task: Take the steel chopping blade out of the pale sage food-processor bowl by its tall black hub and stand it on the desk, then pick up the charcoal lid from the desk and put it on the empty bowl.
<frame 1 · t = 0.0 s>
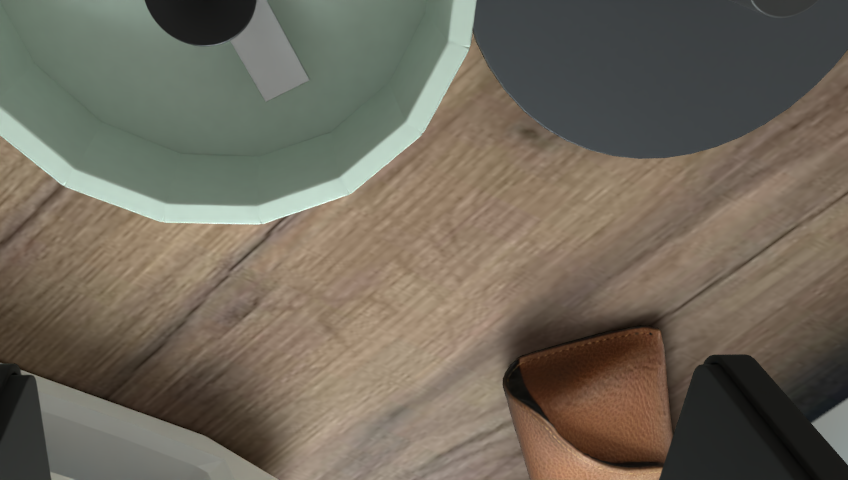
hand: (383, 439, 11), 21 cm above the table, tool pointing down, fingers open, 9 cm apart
sunglasses case: (601, 460, 43), on the table
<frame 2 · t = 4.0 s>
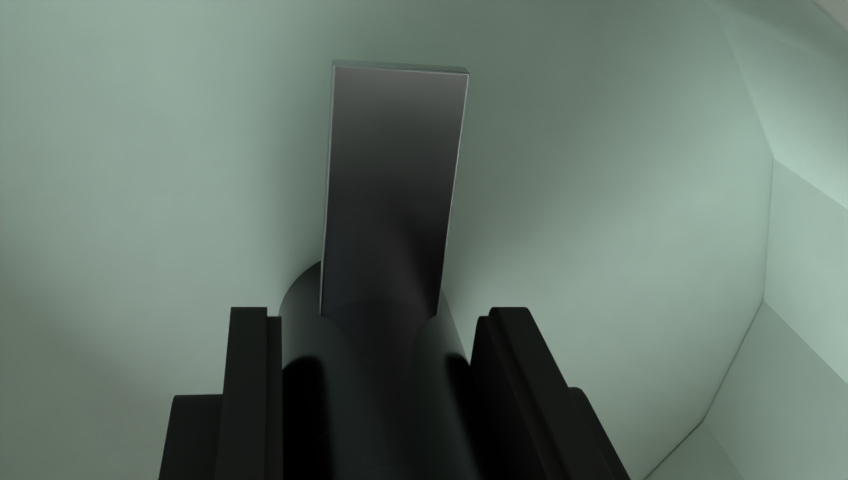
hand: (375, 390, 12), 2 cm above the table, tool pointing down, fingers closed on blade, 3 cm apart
bowl: (361, 306, 14), on the table
blade: (363, 321, 14), point 1 cm above the table, touching bowl, gripper
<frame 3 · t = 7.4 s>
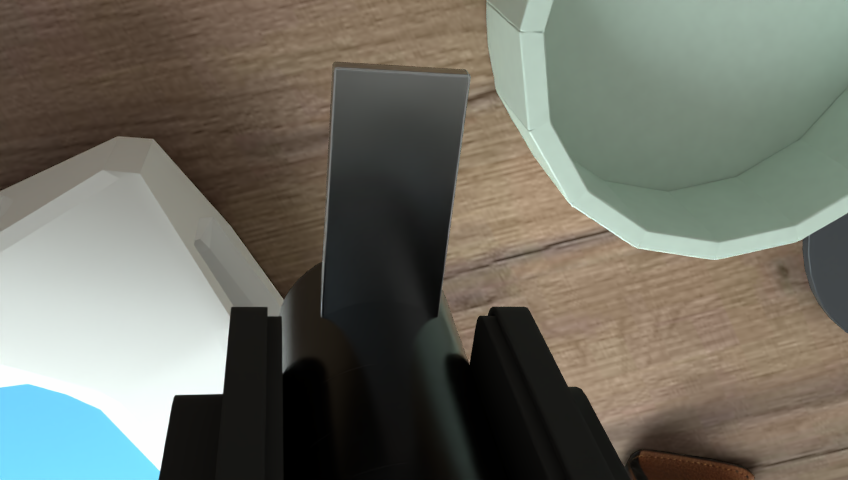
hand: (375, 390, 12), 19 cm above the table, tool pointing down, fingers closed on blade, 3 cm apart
bowl: (700, 1, 30), on the table
blade: (364, 323, 14), point 17 cm above the table, touching gripper
document scanner: (19, 454, 35), on the table
when the fingers open (4 cm above the table, at t = 11.0 s): blade drops 2 cm, on the table.
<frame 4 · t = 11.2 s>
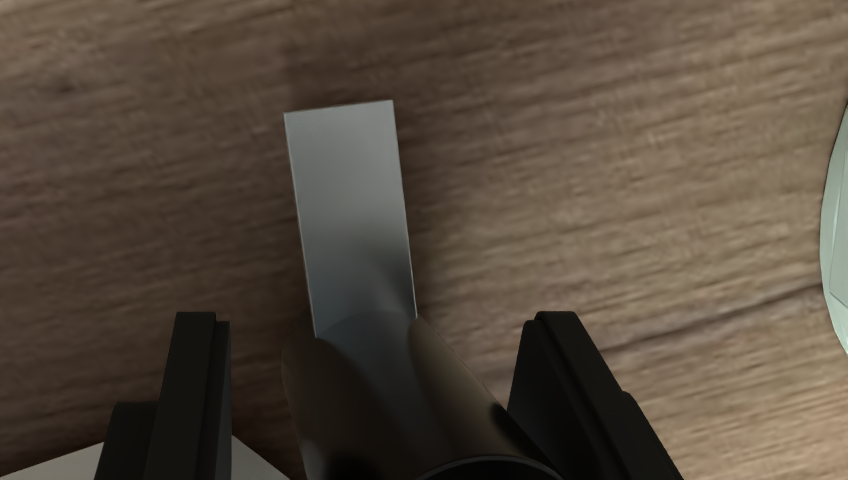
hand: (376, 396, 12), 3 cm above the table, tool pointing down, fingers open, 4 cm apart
blade: (358, 359, 15), on the table, tilted 17°, touching gripper
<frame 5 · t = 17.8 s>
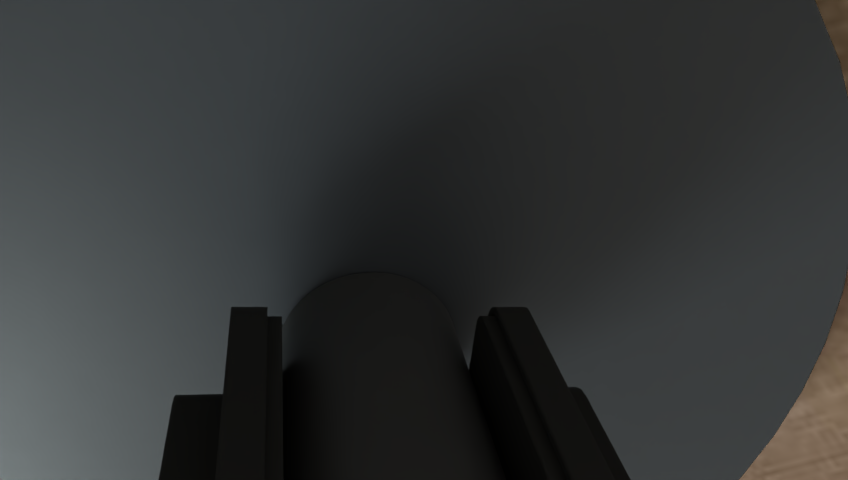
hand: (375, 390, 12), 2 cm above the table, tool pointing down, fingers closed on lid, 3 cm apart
lid: (364, 330, 14), point 1 cm above the table, touching bowl, gripper
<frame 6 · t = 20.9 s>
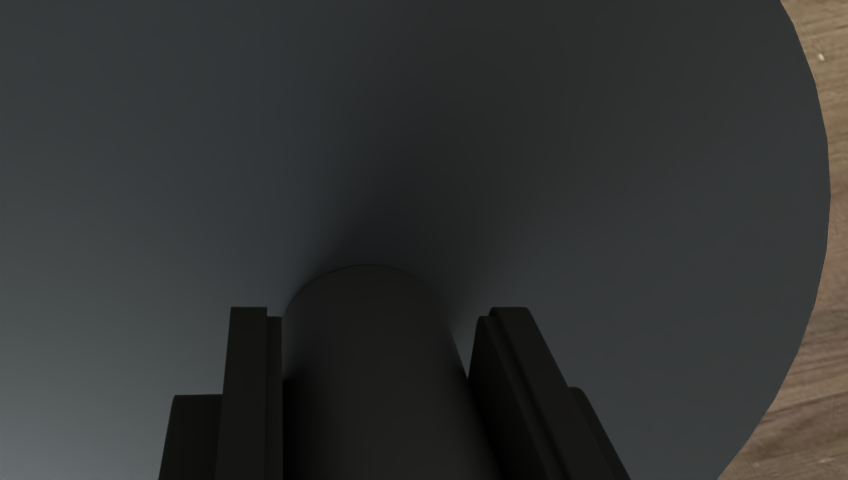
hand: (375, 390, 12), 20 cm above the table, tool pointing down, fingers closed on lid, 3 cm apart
lid: (360, 322, 14), point 17 cm above the table, touching gripper
when the fingers open (7 cm above the table, at t = 24.2 s): lid stays where it is, resting on bowl.
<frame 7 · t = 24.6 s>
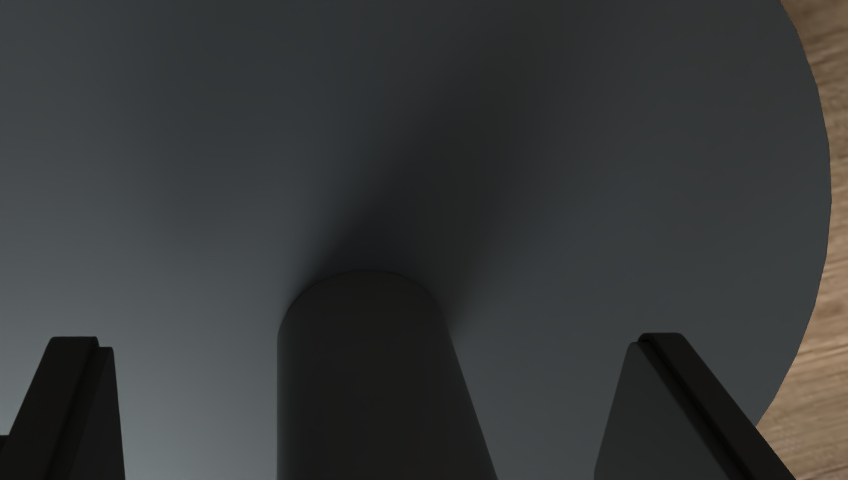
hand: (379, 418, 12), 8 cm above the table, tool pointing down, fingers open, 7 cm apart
lid: (360, 326, 14), point 5 cm above the table, touching bowl
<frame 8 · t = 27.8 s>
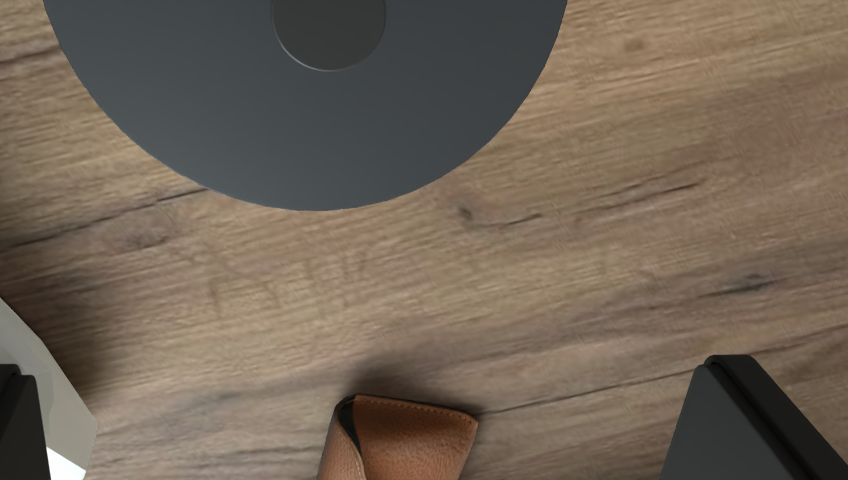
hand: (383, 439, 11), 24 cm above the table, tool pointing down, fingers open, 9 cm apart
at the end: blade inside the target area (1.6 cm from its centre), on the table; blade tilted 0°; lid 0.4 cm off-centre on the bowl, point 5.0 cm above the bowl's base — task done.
